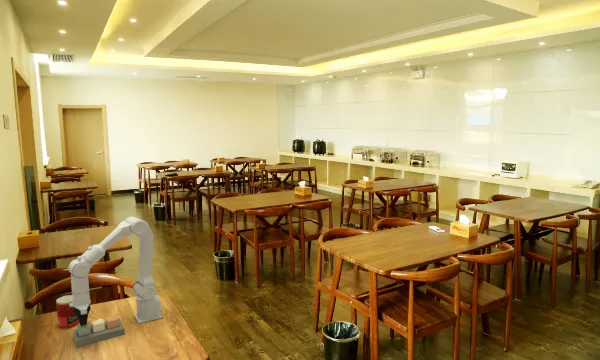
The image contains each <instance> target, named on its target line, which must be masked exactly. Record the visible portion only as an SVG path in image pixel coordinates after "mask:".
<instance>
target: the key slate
mask: <svg viewBox="0 0 600 360" xmlns="http://www.w3.org/2000/svg"><path fill="white" fill-rule="evenodd" d="M76 326H77V328H76V329H78V335H79V336H83V335H87V334H91V332H90V322H89V321H87V325H83V326H81V325H80V323H78V324H77V325H76Z"/></svg>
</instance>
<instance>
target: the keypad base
mask: <svg viewBox="0 0 600 360" xmlns="http://www.w3.org/2000/svg"><path fill="white" fill-rule="evenodd" d="M117 318H118V324H119V326H118V327H114V328H110V329H107V326H106V321H104V325H105V330H102V331H98V332H95V333H93V329H92V324H91V325H90V332H91V334H87V335H83V336H79V335H78V329H77V328H74V329H72V337H73V341H74V347H75V348H79V347H83V346H87V345H90V344H93V343H94V344H95V343H98V342H101V341H106V340H109V339H113V338H117V337H120V336H124V335H125V327H124V325H123V323H122V320H121V318H120V317H117Z"/></svg>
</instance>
